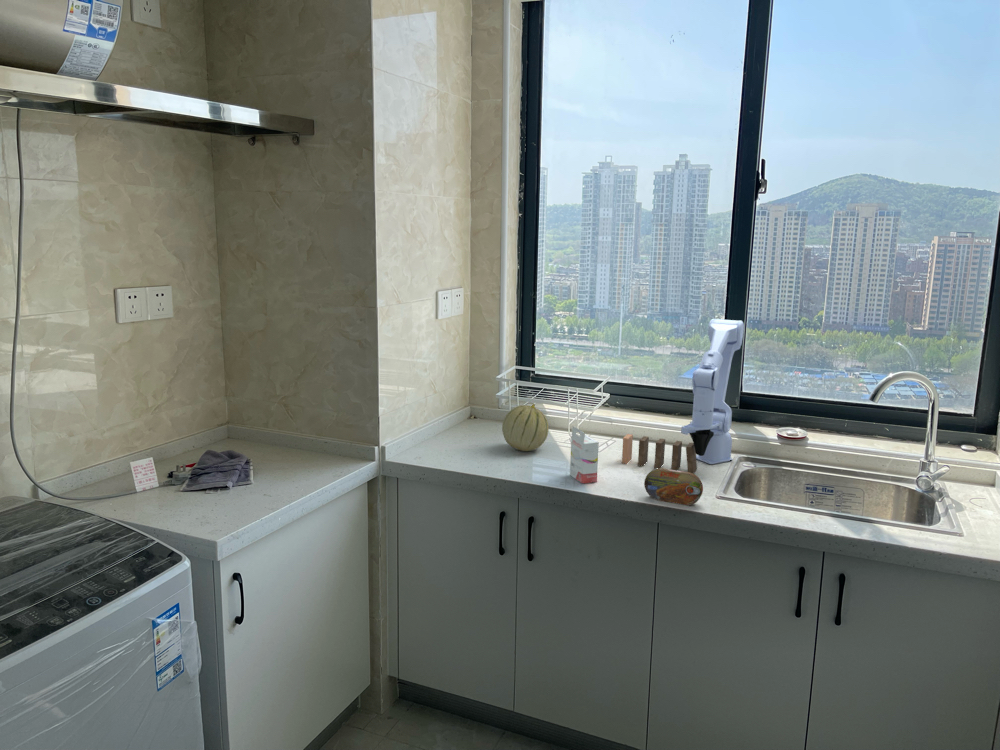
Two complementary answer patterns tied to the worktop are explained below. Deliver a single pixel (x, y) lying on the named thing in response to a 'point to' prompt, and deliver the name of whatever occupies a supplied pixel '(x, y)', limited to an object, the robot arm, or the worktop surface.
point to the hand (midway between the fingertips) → (699, 454)
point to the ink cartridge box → (583, 457)
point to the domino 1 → (627, 448)
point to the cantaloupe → (525, 428)
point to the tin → (673, 486)
